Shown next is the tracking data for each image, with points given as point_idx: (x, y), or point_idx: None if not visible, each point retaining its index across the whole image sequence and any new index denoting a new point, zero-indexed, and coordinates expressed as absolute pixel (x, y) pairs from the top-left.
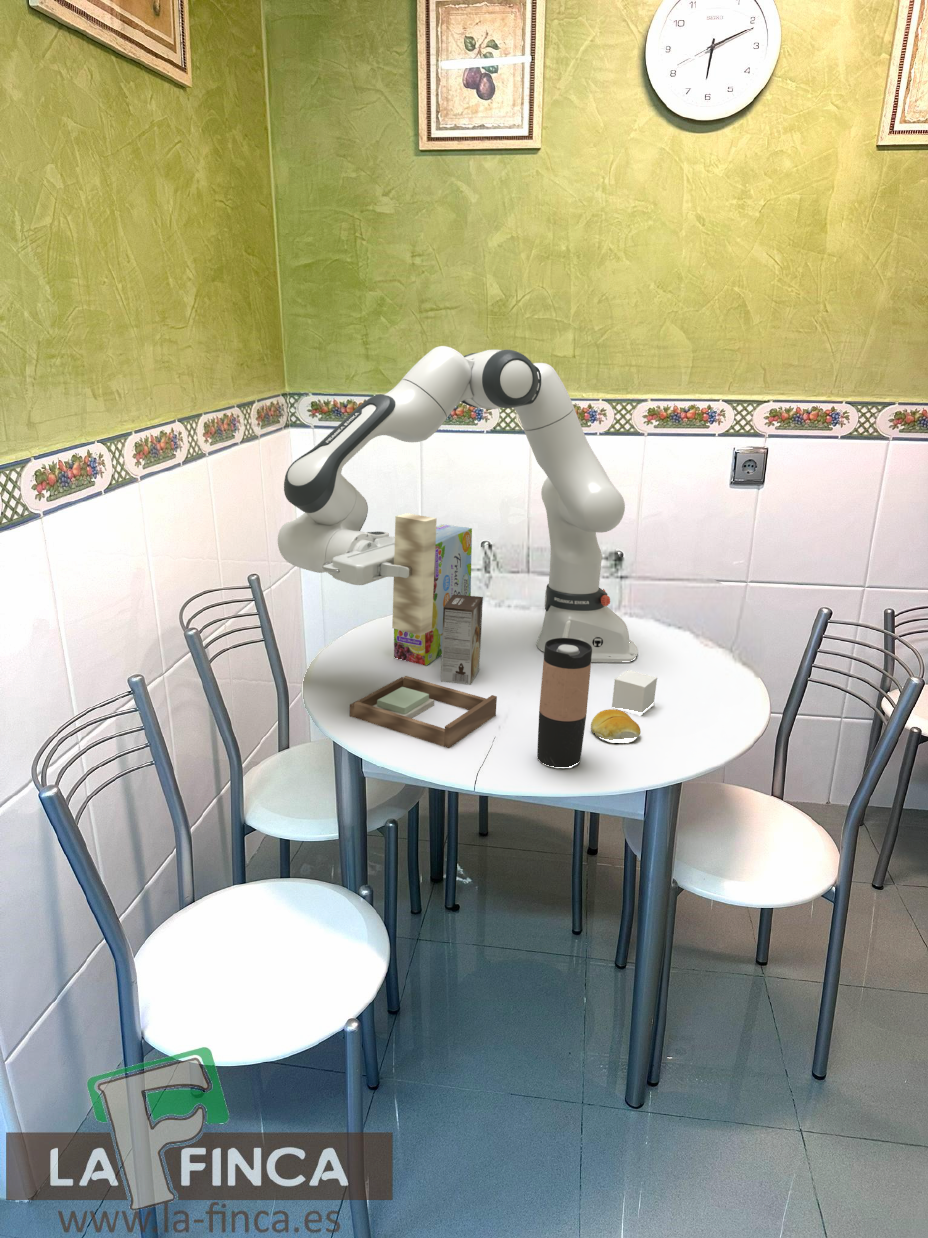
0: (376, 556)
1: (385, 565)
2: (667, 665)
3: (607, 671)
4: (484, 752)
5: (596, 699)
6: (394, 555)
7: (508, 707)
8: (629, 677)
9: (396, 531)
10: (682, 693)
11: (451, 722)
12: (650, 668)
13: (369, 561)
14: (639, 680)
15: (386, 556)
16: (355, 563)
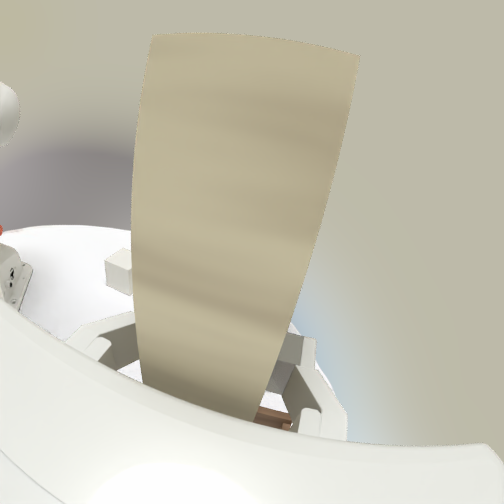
0: (312, 497)
1: (345, 426)
2: (43, 253)
3: (45, 287)
4: (273, 395)
5: (110, 303)
6: (267, 381)
7: (141, 380)
8: (123, 261)
9: (324, 207)
10: (99, 254)
11: (278, 416)
12: (46, 262)
13: (439, 459)
14: (130, 257)
15: (266, 440)
16: (501, 475)
